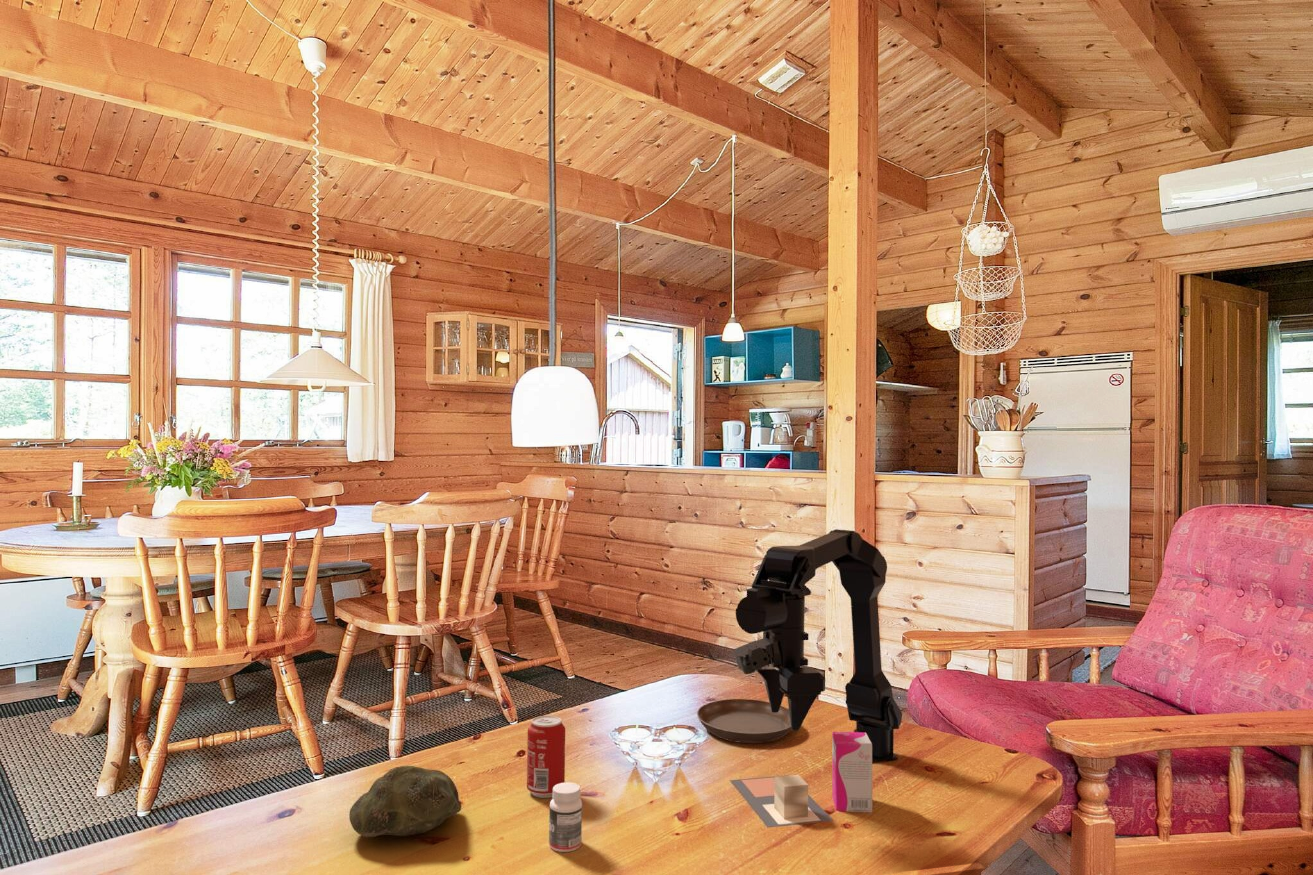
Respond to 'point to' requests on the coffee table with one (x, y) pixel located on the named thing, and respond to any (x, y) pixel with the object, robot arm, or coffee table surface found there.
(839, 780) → the supplement box
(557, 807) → the pill bottle
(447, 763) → the coffee table surface
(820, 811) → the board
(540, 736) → the beverage can
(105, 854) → the coffee table surface
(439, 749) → the coffee table surface
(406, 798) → the decorative rock
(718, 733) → the plant saucer
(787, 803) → the block
